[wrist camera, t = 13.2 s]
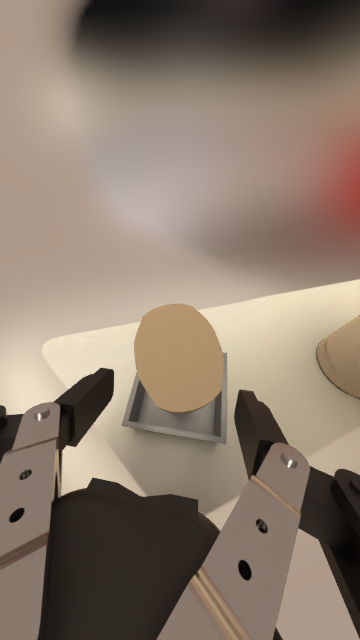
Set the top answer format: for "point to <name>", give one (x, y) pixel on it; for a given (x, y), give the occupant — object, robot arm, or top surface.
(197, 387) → the handle
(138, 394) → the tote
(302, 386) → the top surface
